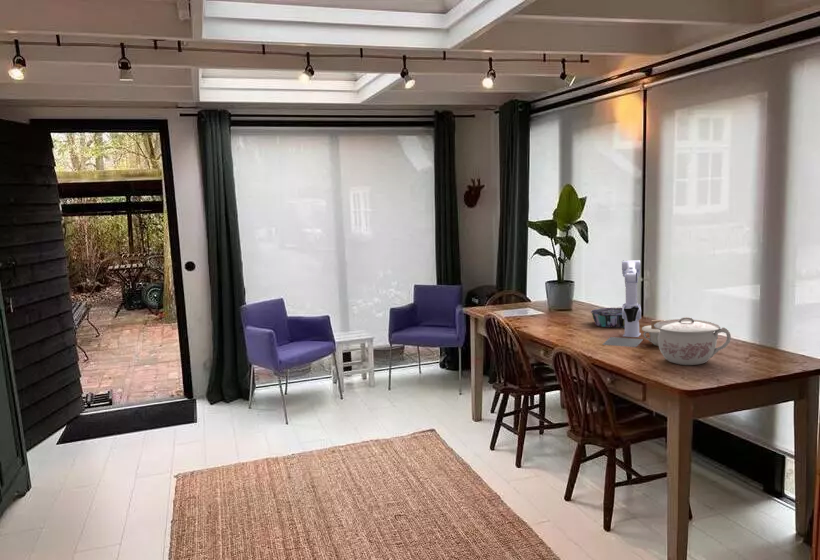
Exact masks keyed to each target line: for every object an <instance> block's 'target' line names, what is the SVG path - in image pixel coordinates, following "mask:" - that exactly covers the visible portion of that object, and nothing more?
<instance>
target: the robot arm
mask: <svg viewBox="0 0 820 560" xmlns="http://www.w3.org/2000/svg"><path fill="white" fill-rule="evenodd" d="M621 274H622V277H623V278H624V286H625V303H622V306H621V308H622V318H623V319H624V320H625V327H624V333H623V335H622V337H624V338H630V337H631V338H639V337H641V334H642V333H641V332H640V322H639V321H640V320H641V319H642V307H641V304H640V303H638V283H639V277H640V276H641V260H640V259H637V260H635V259H634V260H633V259H632V260H631V259H629V260H622V261H621Z"/></svg>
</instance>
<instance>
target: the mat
mask: <svg viewBox="0 0 820 560" xmlns="http://www.w3.org/2000/svg"><path fill="white" fill-rule="evenodd" d="M643 340H644V339H643V338H633V337H631V338H630V337H616V336H615V337H614V336H610V337H609V338H608V339H606V340H605V341H604V342H603V343H602V345H603V346H616V347H629V348H637V347H638V346H639V345H640V344H641V343H642V342H643Z"/></svg>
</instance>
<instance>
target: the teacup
mask: <svg viewBox="0 0 820 560" xmlns="http://www.w3.org/2000/svg"><path fill="white" fill-rule="evenodd" d="M646 334H648V335H649V337H647V336H646ZM657 335H658V333H651V332H645V331H643V338H645V339H646V340H647V341H648V342H649V343H652V344H653V346H657V347H659V345H658V341H657Z"/></svg>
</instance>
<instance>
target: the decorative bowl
mask: <svg viewBox="0 0 820 560" xmlns="http://www.w3.org/2000/svg"><path fill="white" fill-rule="evenodd" d="M590 313H591V316H592V318H593V321H594V324H595V325H596V326H597V327H602V328H613V327H614V328H623V329H624V328H625V320H624V319H623V318H622V307H602V308H596V309H595V308H594V309H592V310H590Z"/></svg>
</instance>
